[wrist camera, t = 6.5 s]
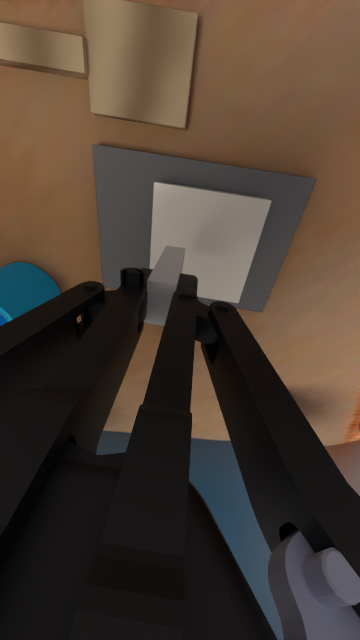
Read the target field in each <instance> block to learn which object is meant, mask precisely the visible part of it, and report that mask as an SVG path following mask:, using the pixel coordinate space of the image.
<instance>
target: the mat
mask: <svg viewBox="0 0 360 640" xmlns="http://www.w3.org/2000/svg"><path fill="white" fill-rule="evenodd" d="M92 147H93V160H94V172H95V185H96V197H97V210H98V223H99V235H100V248H101V260H102V273H103V285H104V287H108V288H114V289H118V288H119V286H120V285H121V281H120V270H122V269H124V268H130V267H132V268H139V269H141V268H148V269H150V251H151V231H152V211H153V192H154V182H165V183H171V184H177V185H184V186H190V187H197V188H203V189H209V190H216V191H222V192H228V193H235V194H241V195H248V196H254V197H260V198H266V199H269V200H271V201H272V202H271V205H270V208H269V211H268V214H267V217H266V220H265V223H264V226H263V229H262V232H261V235H260V238H259V241H258V245H257V248H256V251H255V254H254V257H253V260H252V263H251V266H250V269H249V272H248V275H247V278H246V281H245V284H244V288H243V291H242V294H241V297H240V300H239V303H233V302H227V301H224V302H227V303H229V304H231V305H233V306H234V307H235V308H238V309H244V310H251V311H257V312H262V311H263V309H264V306H265V304H266V302H267V299H268V297H269V294H270V292H271V289H272V287H273V284H274V282H275V280H276V277H277V275H278V272H279V270H280V267H281V265H282V262H283V260H284V258H285V255H286V253H287V250H288V248H289V245H290V243H291V240H292V238H293V236H294V233H295V231H296V228H297V226H298V223H299V221H300V218H301V216H302V214H303V211H304V209H305V206H306V204H307V201H308V199H309V196H310V194H311V192H312V189H313V187H314V184H315V182H316V179H313V178H307V177H301V176H294V175H288V174H281V173H275V172H268V171H262V170H256V169H249V168H243V167H236V166H230V165H223V164H217V163H211V162H204V161H198V160H191V159H185V158H178V157H172V156H166V155H159V154H153V153H146V152H140V151H134V150H127V149H121V148H114V147H108V146H101V145H95V144H92ZM198 300H199V301H200V302H201V303H207V304H211V303H212V302H215V301H221V300H215V299H209V298H202V297H198Z"/></svg>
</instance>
